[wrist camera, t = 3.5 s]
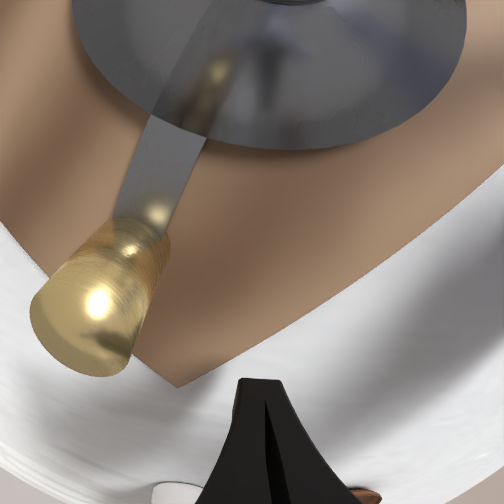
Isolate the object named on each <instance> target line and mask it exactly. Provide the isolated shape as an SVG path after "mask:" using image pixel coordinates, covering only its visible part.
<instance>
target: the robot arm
mask: <svg viewBox="0 0 504 504" xmlns="http://www.w3.org/2000/svg"><path fill="white" fill-rule="evenodd" d="M195 504H363V503H362V502H361V501H360V500H359V499H358V498H357V497H356V496H355V495H354V494H353V493H352V492H351V491H350V490H349V489H348V488H347V487H346V486H345V485H344V483H343V482H342V481H341V480H340V479H339V478H338V477H337V475H336V474H335V473H334V472H333V470H332V469H331V468H330V467H329V465H328V464H327V463H326V461H325V460H324V459H323V457H322V456H321V454H320V453H319V451H318V450H317V448H316V447H315V445H314V444H313V442H312V441H311V439H310V437H309V436H308V434H307V432H306V431H305V429H304V427H303V425H302V424H301V422H300V420H299V418H298V416H297V414H296V412H295V410H294V408H293V407H292V405H291V402H290V400H289V398H288V396H287V394H286V391H285V389H284V387H283V384H282V382H281V381H280V380H270V379H253V378H241V379H239V380H238V385H237V390H236V395H235V400H234V405H233V410H232V423H231V426H230V430H229V433H228V435H227V438H226V441H225V443H224V446H223V448H222V451H221V453H220V456H219V458H218V460H217V463H216V465H215V467H214V469H213V471H212V473H211V475H210V477H209V479H208V481H207V483H206V485H205V487H204V488H203V490H202V492H201V494H200V496H199V497H198V499H197V501H196V502H195Z"/></svg>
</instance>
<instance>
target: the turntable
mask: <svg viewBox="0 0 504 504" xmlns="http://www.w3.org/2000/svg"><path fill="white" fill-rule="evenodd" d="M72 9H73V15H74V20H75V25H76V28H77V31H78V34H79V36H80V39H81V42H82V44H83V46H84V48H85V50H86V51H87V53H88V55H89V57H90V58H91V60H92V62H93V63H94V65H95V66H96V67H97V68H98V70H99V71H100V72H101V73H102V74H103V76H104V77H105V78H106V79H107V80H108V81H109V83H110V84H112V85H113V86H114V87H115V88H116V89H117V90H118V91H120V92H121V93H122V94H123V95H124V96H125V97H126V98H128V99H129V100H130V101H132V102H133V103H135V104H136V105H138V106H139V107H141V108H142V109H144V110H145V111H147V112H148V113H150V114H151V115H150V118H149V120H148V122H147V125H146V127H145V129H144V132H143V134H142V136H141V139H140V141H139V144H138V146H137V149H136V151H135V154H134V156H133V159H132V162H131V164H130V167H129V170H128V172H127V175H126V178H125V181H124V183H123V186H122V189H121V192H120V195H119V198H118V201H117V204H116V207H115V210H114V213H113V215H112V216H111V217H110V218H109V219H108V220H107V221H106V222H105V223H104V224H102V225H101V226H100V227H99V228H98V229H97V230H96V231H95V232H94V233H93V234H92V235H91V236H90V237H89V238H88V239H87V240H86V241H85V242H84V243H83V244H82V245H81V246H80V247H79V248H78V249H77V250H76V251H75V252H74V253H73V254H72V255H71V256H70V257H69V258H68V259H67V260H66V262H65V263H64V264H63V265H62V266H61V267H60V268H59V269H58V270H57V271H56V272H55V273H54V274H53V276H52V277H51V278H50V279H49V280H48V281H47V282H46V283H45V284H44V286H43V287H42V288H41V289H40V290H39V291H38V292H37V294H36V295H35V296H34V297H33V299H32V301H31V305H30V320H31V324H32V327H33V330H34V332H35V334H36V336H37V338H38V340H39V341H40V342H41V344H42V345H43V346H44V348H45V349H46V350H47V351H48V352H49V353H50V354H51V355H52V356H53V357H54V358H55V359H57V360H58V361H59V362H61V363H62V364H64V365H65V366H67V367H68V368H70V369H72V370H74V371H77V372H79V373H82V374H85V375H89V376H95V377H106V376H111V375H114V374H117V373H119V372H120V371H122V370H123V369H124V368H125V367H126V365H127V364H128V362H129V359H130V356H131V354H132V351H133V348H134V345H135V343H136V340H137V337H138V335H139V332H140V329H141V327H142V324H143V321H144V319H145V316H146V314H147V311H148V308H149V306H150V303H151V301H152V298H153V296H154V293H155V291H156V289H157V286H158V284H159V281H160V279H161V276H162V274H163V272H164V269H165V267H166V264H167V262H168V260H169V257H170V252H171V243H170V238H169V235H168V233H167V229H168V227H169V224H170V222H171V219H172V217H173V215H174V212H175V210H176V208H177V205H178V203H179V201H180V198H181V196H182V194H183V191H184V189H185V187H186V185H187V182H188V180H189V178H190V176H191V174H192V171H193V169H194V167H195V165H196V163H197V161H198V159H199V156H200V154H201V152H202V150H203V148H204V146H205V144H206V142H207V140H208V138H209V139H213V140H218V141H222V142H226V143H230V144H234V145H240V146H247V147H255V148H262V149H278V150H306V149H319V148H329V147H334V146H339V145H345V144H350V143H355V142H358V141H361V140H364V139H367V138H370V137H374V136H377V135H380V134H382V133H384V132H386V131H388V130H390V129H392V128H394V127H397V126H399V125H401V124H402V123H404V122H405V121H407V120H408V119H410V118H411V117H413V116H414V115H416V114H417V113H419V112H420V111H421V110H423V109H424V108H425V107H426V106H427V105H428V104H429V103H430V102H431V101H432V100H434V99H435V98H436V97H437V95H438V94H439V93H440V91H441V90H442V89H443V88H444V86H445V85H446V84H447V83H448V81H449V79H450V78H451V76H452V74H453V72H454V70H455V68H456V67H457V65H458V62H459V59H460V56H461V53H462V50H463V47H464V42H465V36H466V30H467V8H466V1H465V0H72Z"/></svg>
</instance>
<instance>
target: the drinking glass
mask: <svg viewBox="0 0 504 504" xmlns="http://www.w3.org/2000/svg"><path fill="white" fill-rule="evenodd" d="M202 490H203V488H201V487H198V486H195V485H190V484H185V483H176V482H167V483H161V484H158V485H156V486H155V487H154V489H153V493H152V500H151V504H195V502H196V501H197V499H198V497H199V496H200V494H201V492H202Z"/></svg>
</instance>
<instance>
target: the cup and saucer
mask: <svg viewBox="0 0 504 504" xmlns="http://www.w3.org/2000/svg"><path fill="white" fill-rule="evenodd" d="M350 491H351V492H352V493H353V494H354V495H355V496H356V497H357V498H358V499H359V500H360V501H361V502H362V503H363V504H379V503H380V502H381V500H382V497H381V496H380V494H379V493H376V492H374V491H370V490H350Z"/></svg>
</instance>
